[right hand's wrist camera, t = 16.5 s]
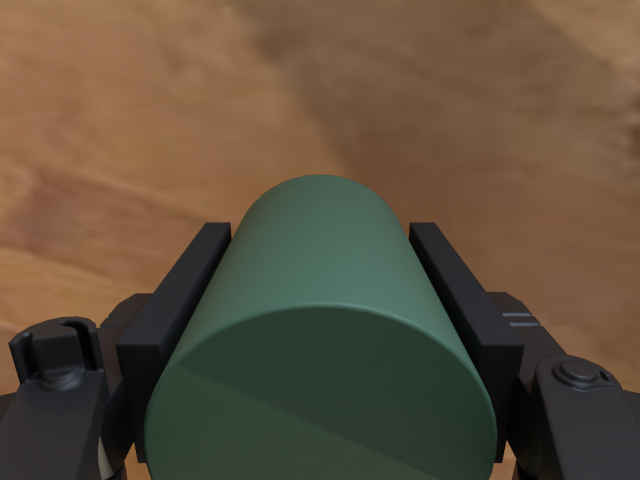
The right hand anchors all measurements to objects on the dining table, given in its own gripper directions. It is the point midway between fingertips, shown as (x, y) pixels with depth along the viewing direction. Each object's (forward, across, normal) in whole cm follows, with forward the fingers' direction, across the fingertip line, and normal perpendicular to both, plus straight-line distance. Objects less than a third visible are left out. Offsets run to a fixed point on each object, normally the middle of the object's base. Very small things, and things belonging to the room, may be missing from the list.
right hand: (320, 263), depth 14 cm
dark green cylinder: (0, 0, 0) cm, 0 cm away
